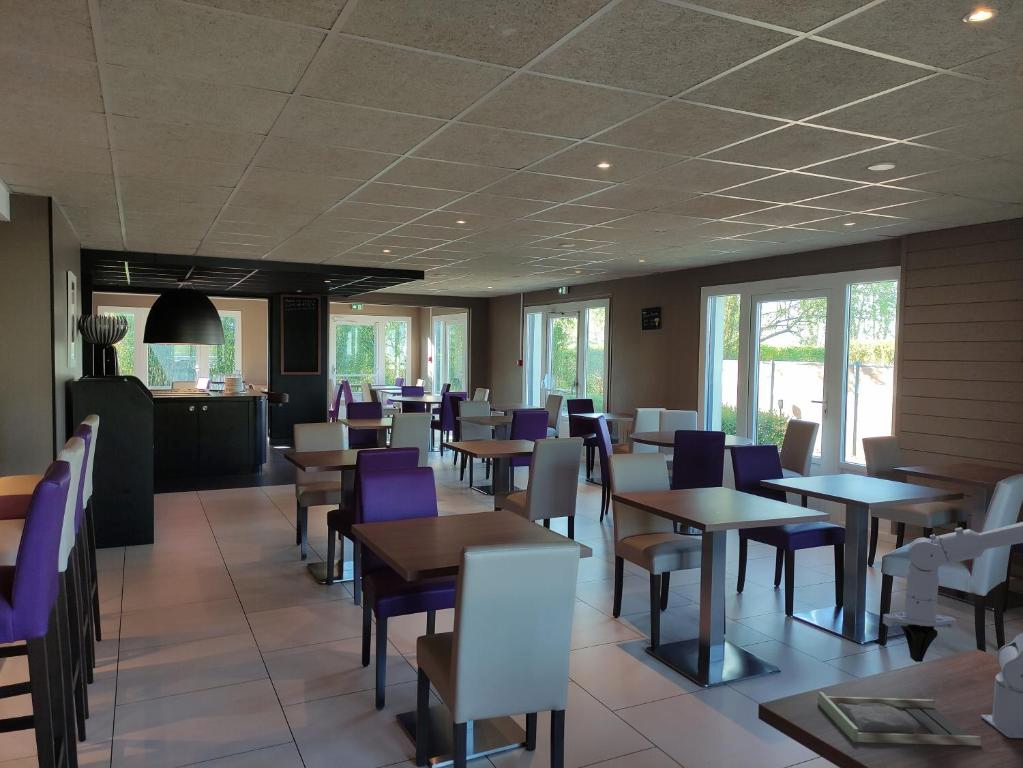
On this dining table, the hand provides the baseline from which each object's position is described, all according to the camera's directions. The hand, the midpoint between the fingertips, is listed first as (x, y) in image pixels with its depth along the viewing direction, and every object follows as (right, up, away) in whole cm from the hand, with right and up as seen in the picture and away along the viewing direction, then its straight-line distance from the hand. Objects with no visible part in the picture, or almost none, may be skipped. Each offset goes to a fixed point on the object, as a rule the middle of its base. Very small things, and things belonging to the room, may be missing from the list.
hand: (916, 659), depth 150 cm
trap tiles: (0, -10, -8) cm, 13 cm away
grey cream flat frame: (-9, -9, -8) cm, 15 cm away
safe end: (-21, -9, -9) cm, 24 cm away
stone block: (-14, -10, -10) cm, 20 cm away
